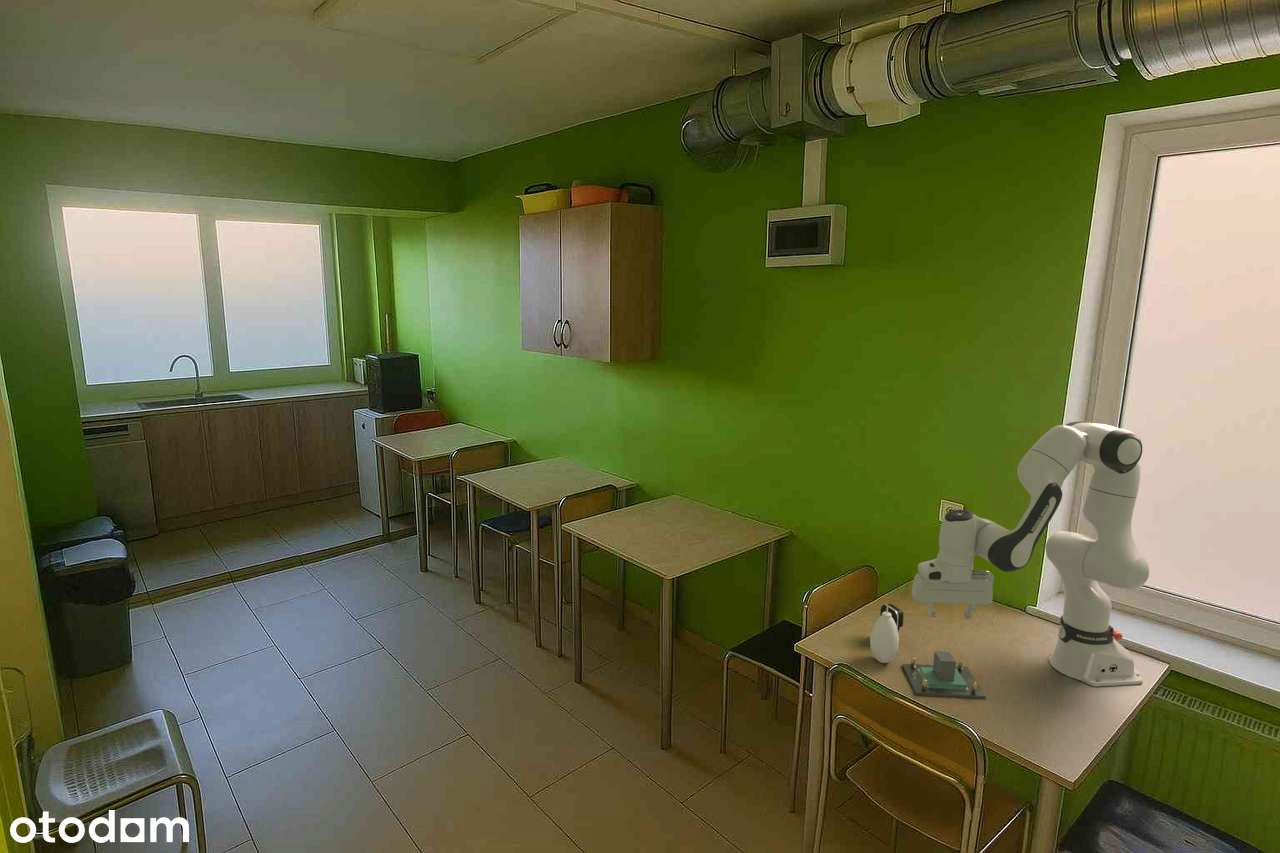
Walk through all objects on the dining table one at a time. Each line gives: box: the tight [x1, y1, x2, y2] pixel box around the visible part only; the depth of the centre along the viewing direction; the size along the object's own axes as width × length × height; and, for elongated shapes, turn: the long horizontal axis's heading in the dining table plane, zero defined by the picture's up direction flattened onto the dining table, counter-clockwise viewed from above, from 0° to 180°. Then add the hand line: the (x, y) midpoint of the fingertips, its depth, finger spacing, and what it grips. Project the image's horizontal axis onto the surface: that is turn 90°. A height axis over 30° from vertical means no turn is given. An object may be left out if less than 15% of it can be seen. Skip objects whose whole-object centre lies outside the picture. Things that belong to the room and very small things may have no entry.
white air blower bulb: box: [869, 605, 900, 664], centre depth 202 cm, size 8×8×18 cm
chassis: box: [901, 655, 987, 700], centre depth 193 cm, size 18×14×4 cm
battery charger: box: [879, 603, 904, 633], centre depth 214 cm, size 7×4×11 cm, turn 21°
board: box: [920, 650, 967, 688], centre depth 193 cm, size 10×8×7 cm
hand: (949, 616), depth 189 cm, fingers open, 8 cm apart
